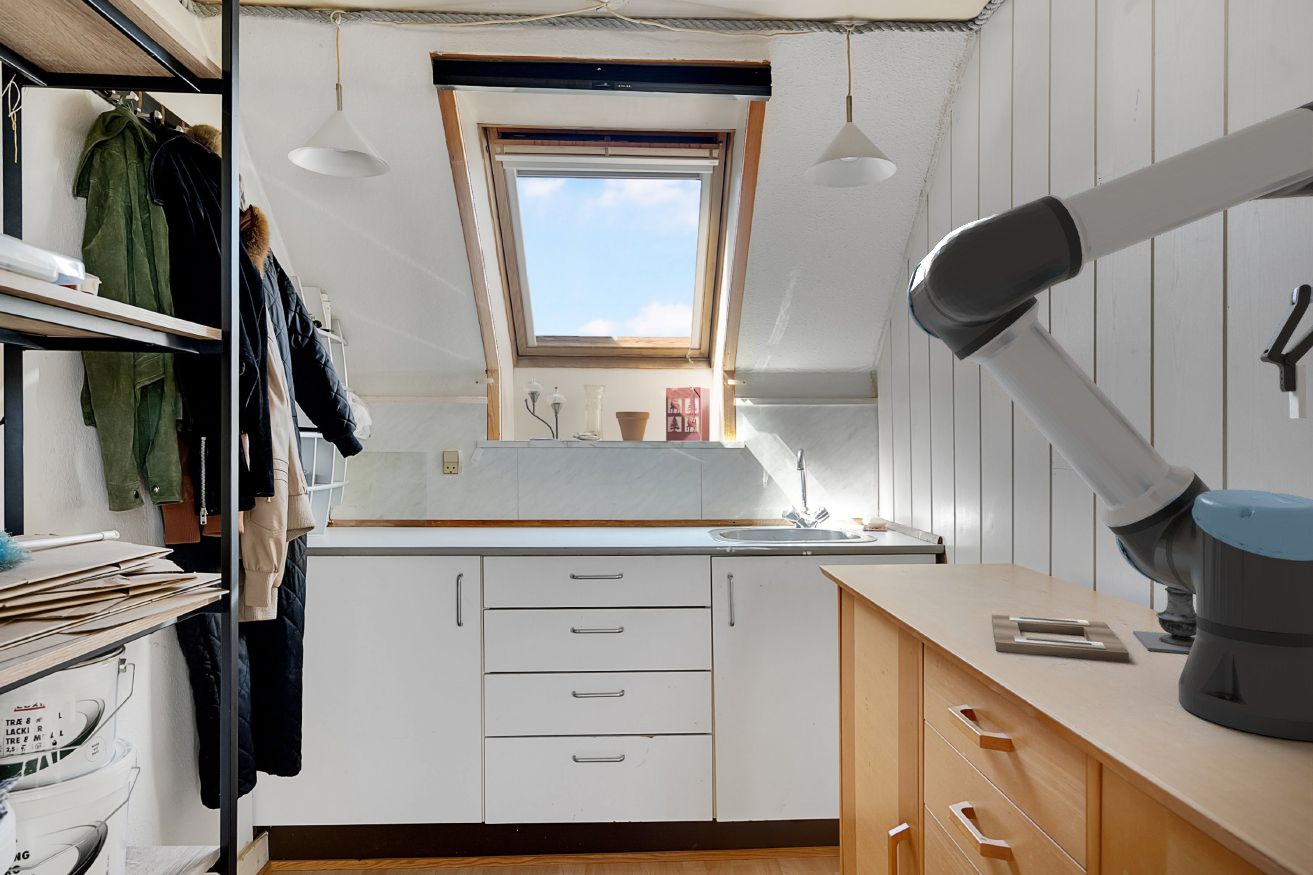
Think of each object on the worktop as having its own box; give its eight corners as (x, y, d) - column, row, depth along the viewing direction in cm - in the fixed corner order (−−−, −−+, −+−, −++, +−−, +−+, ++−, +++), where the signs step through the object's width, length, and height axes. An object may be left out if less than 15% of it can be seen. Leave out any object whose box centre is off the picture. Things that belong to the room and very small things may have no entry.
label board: (1128, 661, 99) (1128, 650, 99) (996, 650, 105) (995, 639, 105) (1105, 629, 115) (1105, 620, 115) (991, 621, 121) (991, 612, 121)
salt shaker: (1217, 647, 103) (1215, 560, 104) (1173, 647, 104) (1172, 561, 104) (1187, 636, 109) (1186, 554, 109) (1147, 636, 109) (1145, 554, 110)
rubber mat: (1235, 657, 100) (1235, 654, 100) (1148, 650, 104) (1148, 647, 104) (1212, 639, 109) (1212, 636, 109) (1133, 633, 113) (1133, 630, 113)
